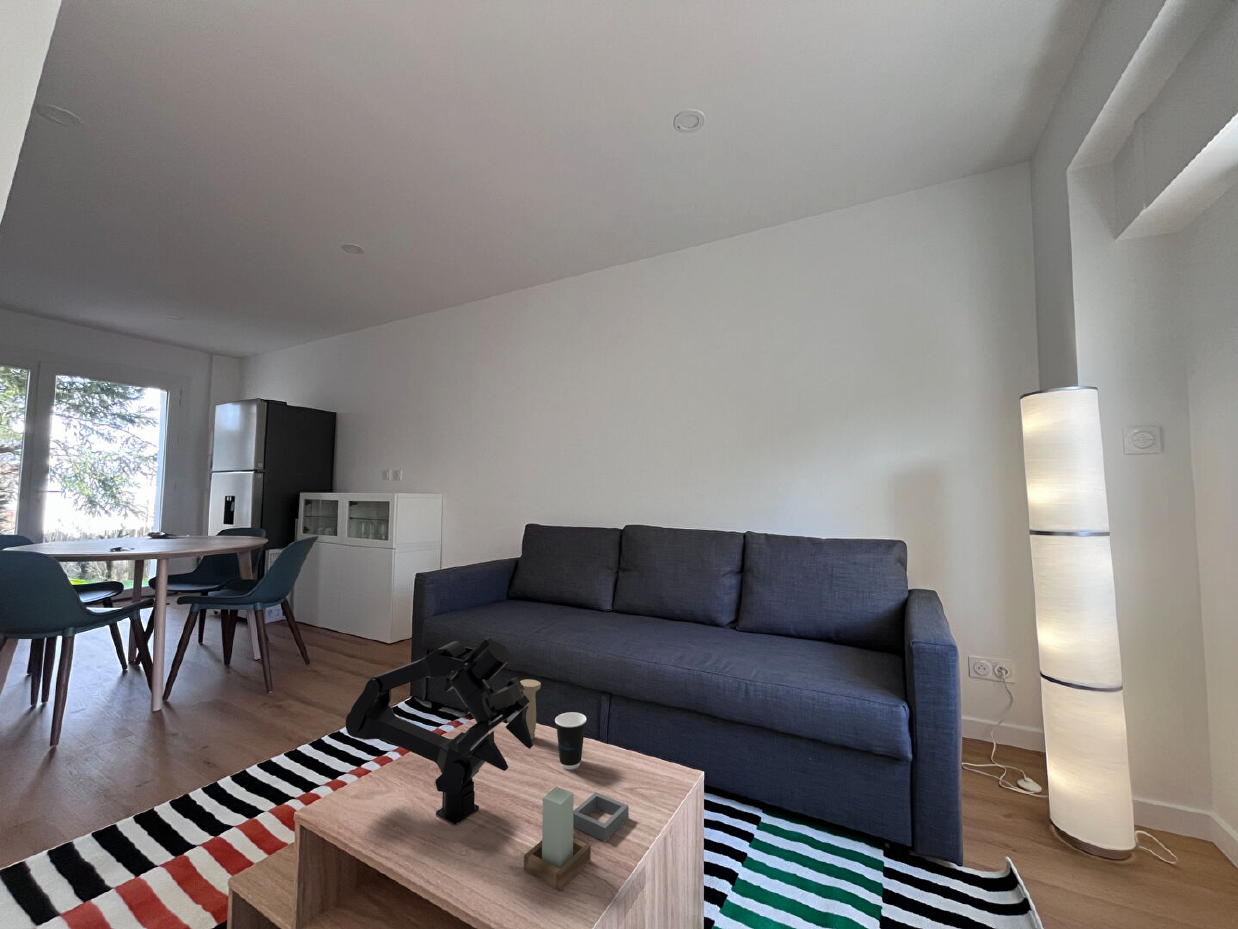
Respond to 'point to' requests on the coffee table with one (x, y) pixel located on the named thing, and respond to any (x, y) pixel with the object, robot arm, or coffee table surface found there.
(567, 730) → the dixie cup
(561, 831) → the peg
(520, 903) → the coffee table surface
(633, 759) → the coffee table surface
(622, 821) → the socket
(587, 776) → the coffee table surface
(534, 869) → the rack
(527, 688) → the handle
